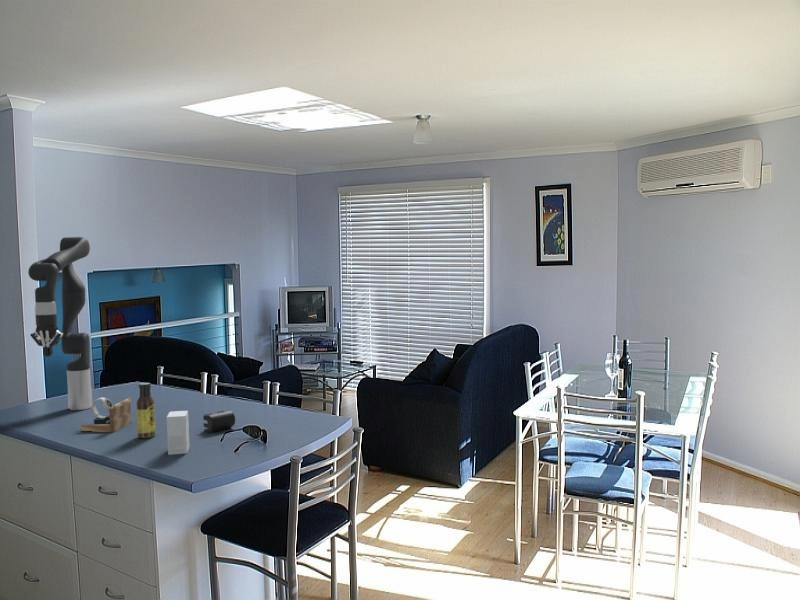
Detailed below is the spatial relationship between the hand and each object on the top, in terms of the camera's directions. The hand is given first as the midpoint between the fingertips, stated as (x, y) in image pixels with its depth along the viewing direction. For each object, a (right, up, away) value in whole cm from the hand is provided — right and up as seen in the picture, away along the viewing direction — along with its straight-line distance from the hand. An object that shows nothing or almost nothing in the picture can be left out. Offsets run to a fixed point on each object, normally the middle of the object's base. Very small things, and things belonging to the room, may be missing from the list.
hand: (48, 356), depth 268 cm
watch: (+23, -27, -3) cm, 36 cm away
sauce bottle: (+47, -28, -20) cm, 58 cm away
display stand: (+26, -27, -6) cm, 38 cm away
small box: (+65, -29, -38) cm, 81 cm away
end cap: (+72, -27, -12) cm, 78 cm away
